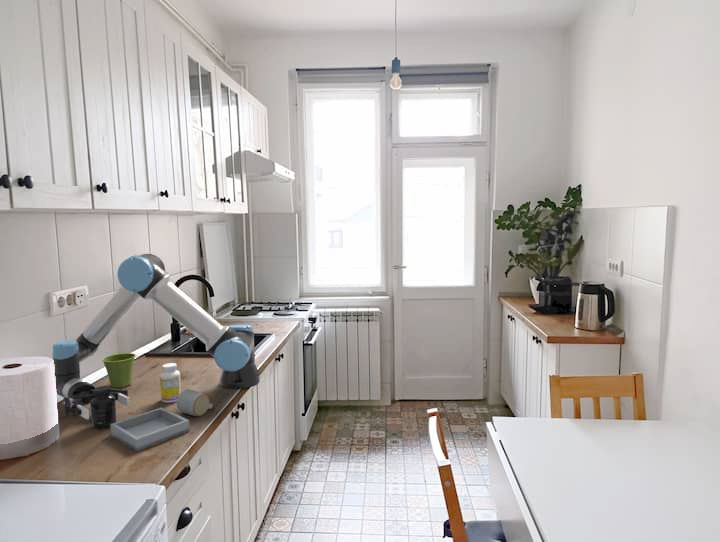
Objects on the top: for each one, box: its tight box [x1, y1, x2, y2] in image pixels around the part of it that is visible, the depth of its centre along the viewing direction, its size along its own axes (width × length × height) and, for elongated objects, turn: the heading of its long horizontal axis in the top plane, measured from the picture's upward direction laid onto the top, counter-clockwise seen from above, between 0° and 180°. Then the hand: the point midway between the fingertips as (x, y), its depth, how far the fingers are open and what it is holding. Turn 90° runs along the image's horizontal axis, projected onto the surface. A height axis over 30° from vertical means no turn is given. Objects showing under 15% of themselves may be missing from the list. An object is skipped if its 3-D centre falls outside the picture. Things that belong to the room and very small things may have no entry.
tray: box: [109, 407, 191, 452], centre depth 140 cm, size 16×16×4 cm
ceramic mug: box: [176, 388, 214, 417], centre depth 156 cm, size 11×8×8 cm
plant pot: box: [101, 352, 137, 389], centre depth 182 cm, size 12×12×11 cm
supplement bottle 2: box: [159, 362, 182, 404], centre depth 166 cm, size 7×7×13 cm
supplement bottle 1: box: [89, 385, 118, 430], centre depth 146 cm, size 7×7×12 cm
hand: (108, 408), depth 143 cm, fingers open, 11 cm apart
